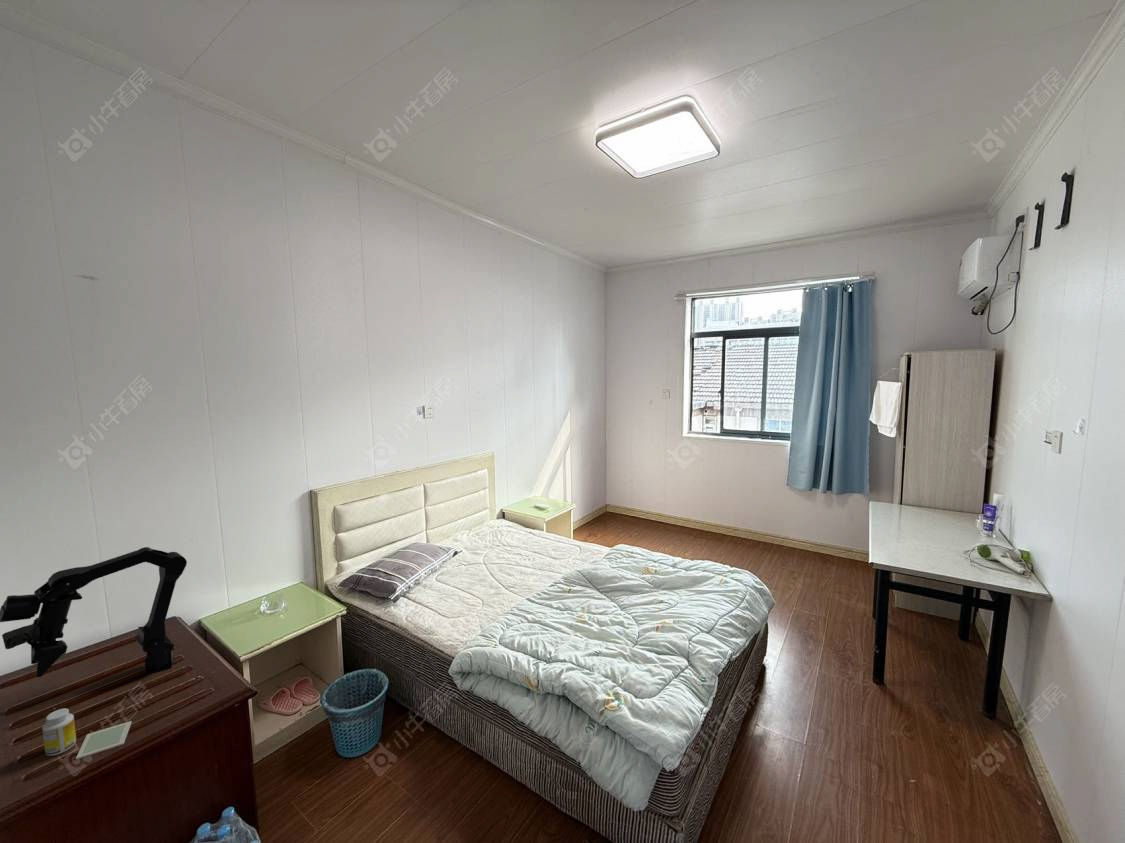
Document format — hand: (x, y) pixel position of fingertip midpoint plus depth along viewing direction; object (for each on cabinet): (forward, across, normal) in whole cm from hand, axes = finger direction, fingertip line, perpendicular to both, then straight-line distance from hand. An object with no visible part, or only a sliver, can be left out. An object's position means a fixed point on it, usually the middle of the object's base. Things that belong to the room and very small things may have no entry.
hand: (36, 670), depth 127 cm
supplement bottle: (+14, +21, +5) cm, 26 cm away
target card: (+11, +27, +12) cm, 31 cm away
